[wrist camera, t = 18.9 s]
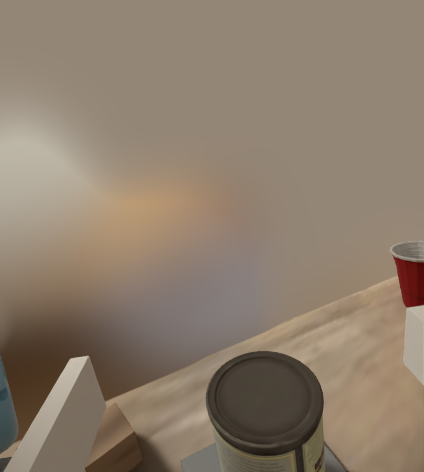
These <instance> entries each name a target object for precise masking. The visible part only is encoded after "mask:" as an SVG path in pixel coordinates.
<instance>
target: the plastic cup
mask: <svg viewBox="0 0 424 472" xmlns="http://www.w3.org/2000/svg"><path fill="white" fill-rule="evenodd" d="M390 253H391V254H392V255H393V257H394V260H395V263H396V266H397V272H398V277H399V283H400V288H401V292H402V299H403V301H404V304H405V306H406V307H408V308H410V307H416V306H423V305H424V240H417V241H408V242H402V243H398V244H395V245H394V246H392V247H391V248H390Z"/></svg>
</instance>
